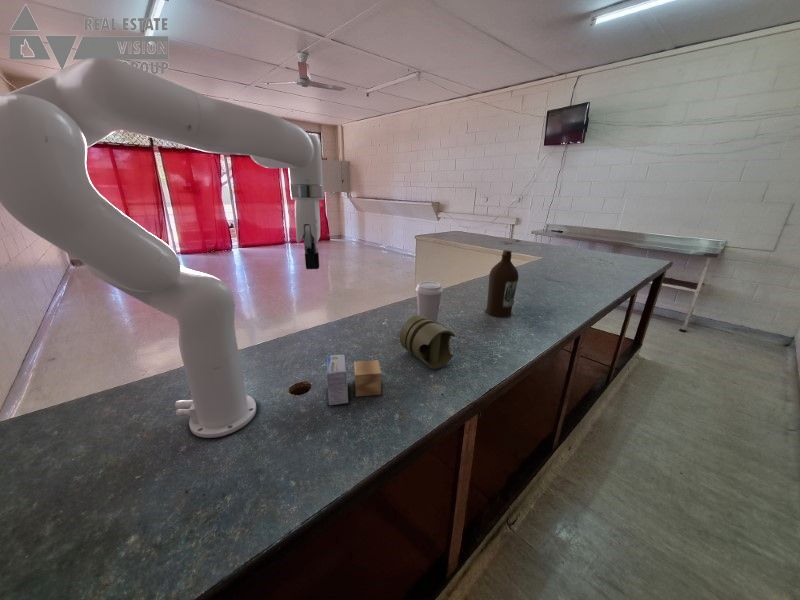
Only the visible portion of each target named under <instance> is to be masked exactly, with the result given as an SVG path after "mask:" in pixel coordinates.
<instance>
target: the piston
mask: <svg viewBox="0 0 800 600" xmlns="http://www.w3.org/2000/svg"><path fill="white" fill-rule="evenodd" d="M451 337H453V338H455V337H456V335H455V333H454V332H452V331H451V330H450V329H447V328H445V327H444V326H442V325H440V324H438V323H435V322H433V321H432V320H430V319H428V318H426V317H425V316H422V315H418V314H417V315H413V316H412V317H409V318H408V319H407V320H406V321H405V322H404V324H403V325H402V327H401V329H400V331H399V343H400V345H401V347H402V348H404V349H405V350H406V351H407V352H409V353H410V354H411V355H412V356H414V357H415V358H416V359H418V360H419V361H420V362H421V363H422V364H424V365H426V366H427V367H429V368H430V369H434V370H436V369H441V368H442V367H444V366H446V365H447V364H448V363H449V362H450V361H451V359H453V357H454V353H453V352H452V349H451Z"/></svg>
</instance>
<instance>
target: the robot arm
mask: <svg viewBox="0 0 800 600" xmlns="http://www.w3.org/2000/svg"><path fill="white" fill-rule="evenodd" d="M123 131H124V132H128V133H132V134H137V135H140V136H145V137H148V138H151V139H157V140H160V141H165V142H168V143H172V144H176V145H180V146H183V147H186V148H190V149H194V150H197V151H201V152H205V153H211V154H218V155H219V154H220V155H239V156H249V157H250V158H251V160H252V161H253V162H254V163H256V164H257V165H259V166H261V167H263V168H266V169H288V178H289V190H290V200H292V201H293V200H294V217H295V219H294V221H295V238H296V239H295V240H296V243H298V244H300V243H302V241H303V246H304V261H305V262H304V263H305V269H306V270H319V269H320V253H319V247H318V246H319V245H318V241H319V240H320V238H321V210H320V209H321V208H320V201H324V200H325V193H324V178H323V177H324V176H323V159H322V158H323V157H322V144H321V139H320V138H319V137H318V136H317V135H314V134H310V133H308V132H306V130H304V129H303V128H302V127H301V126H299V125H297V124H295V123H293V122H291V121H289V120H287V119H284V118H282V117H280V116H278V115H274V114H272V113H269V112H266V111H263V110H259V109H255V108H251V107H247V106H242V105H239V104H237V103H232V102H229V101H225V100H222V99H217V98H213V97H210V96H207V95H204V94H202V93H199V92H197V91H194V90H192V89H190V88H187V87H185V86H183V85H180V84H178V83H175V82H172V81H170V80H168V79H165V78H163V77H161V76H158V75H157V74H153V73H151V72H149V71H147V70H143V69H141V68H139V67H137V66H134V65H132V64H129V63H127V62H124V61H121V60H118V59H115V58H112V57H107V56H90V57H87V58H84V59H81V60H80V61H78V62H75V63H73V64H71V65H70V64H69V65H68V66H66V67H63V68H62V69H60V70H57V71H55V72H54V73H52V74H50V75H48V76H46V77H44V78H41V79H39V80H37V81H35V82H32V83H30V84H28V85H25V86H23V87H20V88H17V89H14V90H13V91H10V92H8V93H5V94H0V204H1V206H2V207H3V208H4V209H5V210H6V212H7V213H9V214H10V215H11V217H12V218H14V219H15V221H17V222H19V224H20V225H22V226H24V227H25V228H27V229H28V230H29V231H31V232H32V233H34V234H36V235H37V236H39V237H40V238H42V239H44V240H45V241H47V242H49V243H50V244H52V245H53V246H55V247H57V248H58V249H60V250H62V251H63V252H65V253H67V254H68V255H70V256H71V257H73V258H75V259H76V260H78V261H80V262H82V263H83V264H84V266H85V267H86V269H87V270H88V271H89V272H90V273H91V274H92V275H93V276H95V277H96V278H98V280H101V281H102V282H104V283H106V284H108V285H109V286H112V287H114V288H116V289H117V290H118V291H121V292H123V293H125V294H126V295H128V296H131V297H132V298H134V299H136V300H137V301H139V302H142V303H143V304H145V305H147V306H150V307H151V308H153V309H155V310H156V311H158V312H161V313H163V314H166V315H167V316H169V317H171V318H173V319H176V321H177V323H178V328H179V329H178V347H179V353H180V356H181V357H180V358H181V361H182V363H183V367H184V371H185V372H184V373H185V375H186V380H187V384H188V388H189V392H190V394H191V399H189V400H188V399H182V400H176V401H175V403H174V409H175V417H187V416H188V417H189V419H188V426H189V429H190V432H191V433H192V434H193V435H194V436H197V437H200V438H206V439H211V438H212V439H213V438H220V437H224V436H227V435H229V434H232V433H235V432H237V431H238V430H241V429H242V428H243V427H245V426H246V425H247V424H248V423H250V422H251V421H252V419H253V418H254V417H255V416H256V413H257V403H256V400H255V399H254V398H253V397H252V396H250V395H248V394H247V392H246V386H245V382H244V374H243V369H242V368H243V367H242V364H241V358H240V357H241V356H240V352H239V346H238V340H237V335H236V324H235V317H236V300H235V296H234V292H233V291H232V289H231V288H230V286H229V285H228V284H227V283H226V282H224V281H223V280H221V279H220V278H218V277H216V276H214V275H210V274H208V273H205V272H201V271H197V270H193V269H190V268H187V267H186V266H183V265H181V263H180V259H179V257H178V255H177V254H176V252H175V251H174V250H173V248H172V247H171V246H170V245H168V244H167V242H165V241H164V240H162V239H160V238H159V237H158V236H156V235H155V234H153V233H151V232H149V231H148V230H147V229H146V228H144V227H143V226H142V225H140V224H139V223H137V222H136V221H135V220H133V219H132V218H130V217H129V216H128V215H126V214H125V213H123V212H122V211H121V210H120V209H118V207H116V206H114V204H113V203H111V202H110V201H108V199H106V198H105V197H104V196H103V195H102V194H101V193H100V192H99V191H98V190H97V189H96V188H95V186H94V184H93V183H92V181H91V179H90V176H89V173H88V169H87V158H88V157H87V156H88V148H90V147H92V146H93V145H95V144H97V143H98V142H100V141H102V140H103V139H105V138H107V137H109V136H111V135H112V134H113V133H117V132H123Z"/></svg>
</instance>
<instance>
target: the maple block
mask: <svg viewBox="0 0 800 600" xmlns="http://www.w3.org/2000/svg"><path fill="white" fill-rule="evenodd" d="M353 365H354V388H355V389H354V391H355V397H365V396H366V397H367V396H368V397H369V396H379V395H382V372H381V366H380V361H379V359H372V360H371V359H370V360H358V361H357V360H356V361H354V362H353Z"/></svg>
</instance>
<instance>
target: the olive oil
mask: <svg viewBox="0 0 800 600" xmlns="http://www.w3.org/2000/svg"><path fill="white" fill-rule="evenodd" d="M512 253H513V251H512V250H509V249H504V250H502V254H501V260H500V261H499V262H498V263H496V264H495V265H494V266H493V267H492V268H490V271H489V275H488V286H487V287H488V289H487V301H486V309H485V310H486V313H487V314H488V315H489V316H491V317H492V316H493V317H497V318H507V317H510V316H511V315H512V311H513V310H512V309H513V306H514V303H515V295H516V291H517V287H518V281H519V271H518V269H517V268H516V266H515V265H514V264H513V262H512Z"/></svg>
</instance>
